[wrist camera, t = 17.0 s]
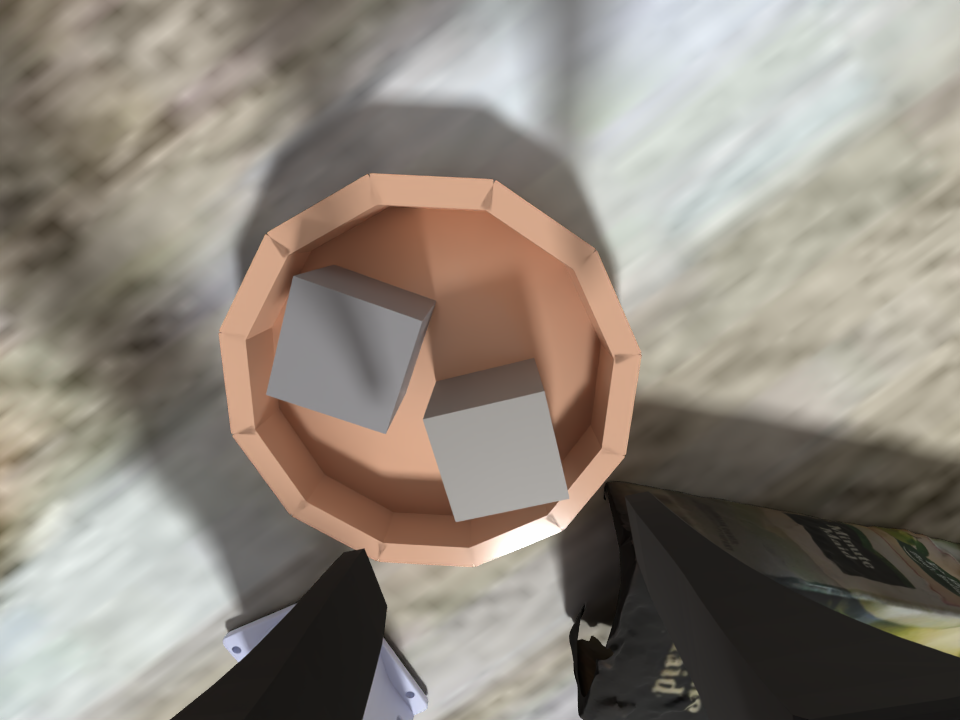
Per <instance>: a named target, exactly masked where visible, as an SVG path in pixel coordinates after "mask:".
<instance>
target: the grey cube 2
mask: <svg viewBox="0 0 960 720" xmlns="http://www.w3.org/2000/svg"><path fill="white" fill-rule="evenodd" d="M423 422H424V425H425V428H426V431H427V434H428V437H429V441H430V444H431V447H432V450H433V453H434V456H435V459H436V462H437V465H438V469H439V472H440V475H441V478H442V481H443V484H444V487H445V490H446V493H447V496H448V500H449V503H450V506H451V509H452V512H453V515H454V518H455V521H456V522H459V521H464V520H469V519H474V518H479V517H484V516H488V515H493V514H498V513H503V512H508V511H513V510H517V509H522V508H527V507H532V506H537V505H542V504H546V503H551V502H556V501H561V500H566V499H570V498H569V494H568V490H567V485H566V481H565V477H564V472H563V468H562V464H561V460H560V455H559V451H558V447H557V443H556V438H555V434H554V430H553V426H552V421H551V417H550V413H549V408H548V404H547V400H546V396H545V391H544V388H543V385H542V382H541V378H540V375H539V372H538V368H537V365H536V362H535V359H534V358H532V359H528V360H523V361H519V362H515V363H511V364H507V365H503V366H498V367H494V368H490V369H486V370H482V371H478V372H473V373H469V374H465V375H461V376H457V377H453V378H448V379H444V380H440V381H436V383H435V386H434V388H433V391H432V394H431V397H430V400H429V403H428V406H427V409H426V411H425V414H424V417H423Z"/></svg>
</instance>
